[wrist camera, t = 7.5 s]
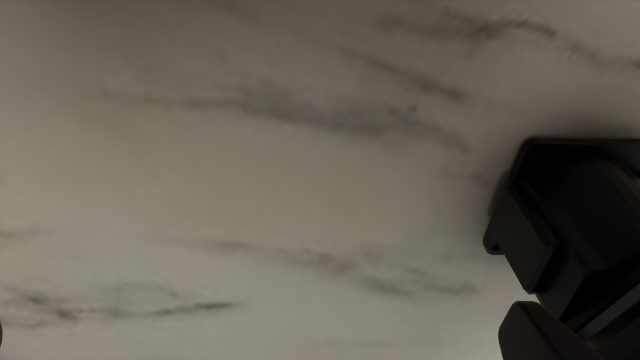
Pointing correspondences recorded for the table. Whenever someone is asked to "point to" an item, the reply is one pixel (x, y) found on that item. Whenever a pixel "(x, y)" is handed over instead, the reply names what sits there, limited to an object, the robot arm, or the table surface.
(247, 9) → the table surface
